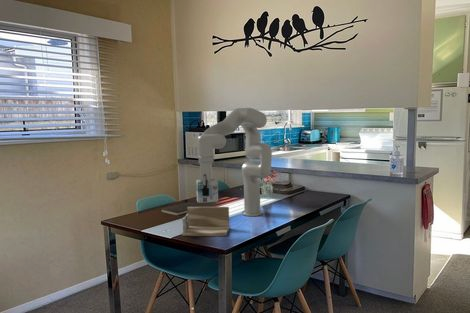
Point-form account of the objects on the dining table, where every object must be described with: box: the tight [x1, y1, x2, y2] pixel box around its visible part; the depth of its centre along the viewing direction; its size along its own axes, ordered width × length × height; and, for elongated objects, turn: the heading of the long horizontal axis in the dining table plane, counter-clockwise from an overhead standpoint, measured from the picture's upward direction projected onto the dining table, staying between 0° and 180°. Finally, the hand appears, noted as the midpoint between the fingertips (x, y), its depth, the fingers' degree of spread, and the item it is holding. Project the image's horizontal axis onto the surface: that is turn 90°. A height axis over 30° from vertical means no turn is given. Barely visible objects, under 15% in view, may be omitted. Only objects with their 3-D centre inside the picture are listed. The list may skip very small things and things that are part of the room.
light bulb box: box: [195, 178, 219, 204], centre depth 209 cm, size 11×7×11 cm, turn 102°
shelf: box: [181, 206, 230, 237], centre depth 212 cm, size 14×22×12 cm, turn 83°
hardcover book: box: [160, 202, 206, 216], centre depth 261 cm, size 16×23×2 cm
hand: (207, 193), depth 209 cm, fingers closed on light bulb box, 8 cm apart
